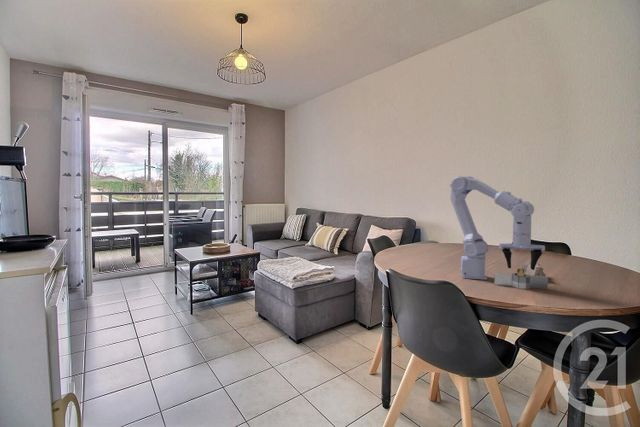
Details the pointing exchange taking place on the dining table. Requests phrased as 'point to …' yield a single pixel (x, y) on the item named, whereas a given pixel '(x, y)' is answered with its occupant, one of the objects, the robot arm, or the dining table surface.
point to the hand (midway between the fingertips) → (520, 268)
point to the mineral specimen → (536, 272)
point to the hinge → (521, 281)
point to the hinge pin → (520, 272)
